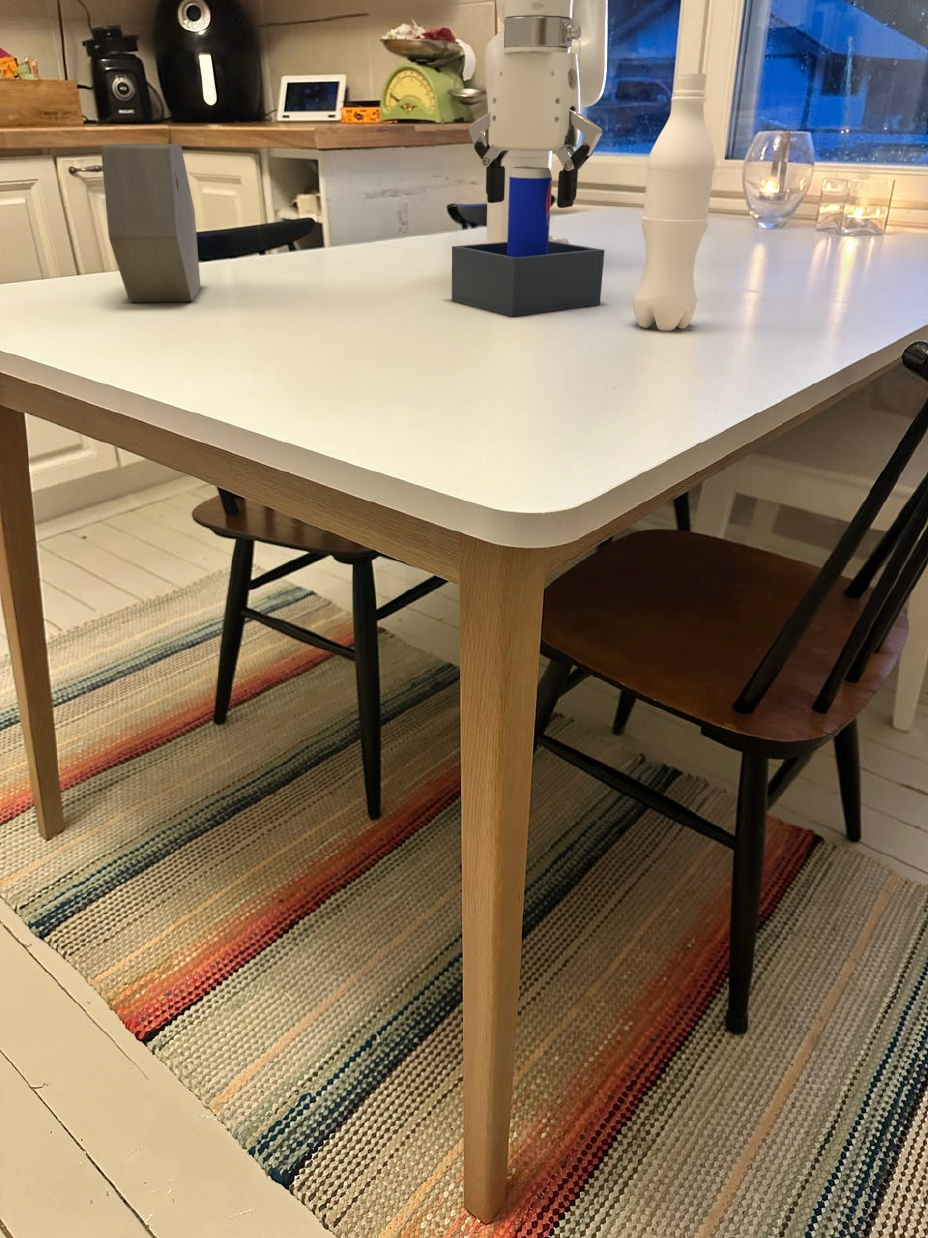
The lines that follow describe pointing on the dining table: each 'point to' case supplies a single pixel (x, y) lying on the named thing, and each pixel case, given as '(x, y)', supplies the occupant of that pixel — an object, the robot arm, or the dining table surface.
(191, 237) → the planter
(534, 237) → the beverage can
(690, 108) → the water bottle
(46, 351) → the dining table surface
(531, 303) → the tub
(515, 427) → the dining table surface
